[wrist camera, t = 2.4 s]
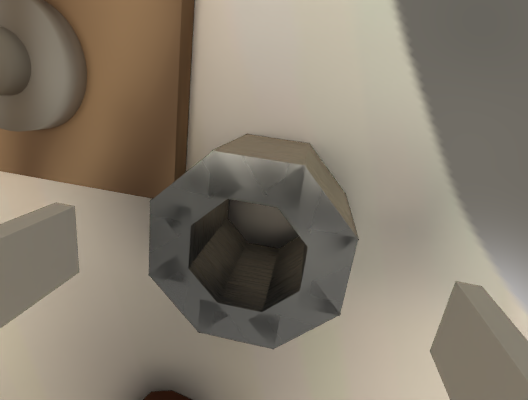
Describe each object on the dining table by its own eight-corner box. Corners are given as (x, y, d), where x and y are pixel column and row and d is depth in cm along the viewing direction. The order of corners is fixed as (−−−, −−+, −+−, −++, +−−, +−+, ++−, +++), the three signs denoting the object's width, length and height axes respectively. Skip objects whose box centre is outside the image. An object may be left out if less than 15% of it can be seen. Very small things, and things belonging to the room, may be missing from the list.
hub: (195, 258, 20) (147, 321, 14) (205, 127, 17) (150, 140, 12) (325, 284, 19) (329, 362, 13) (355, 149, 17) (374, 175, 11)
